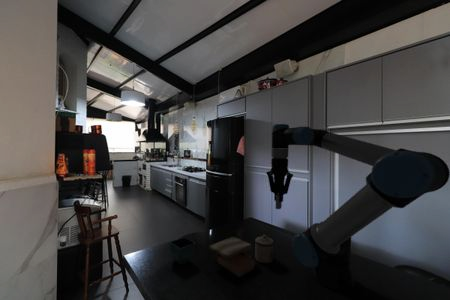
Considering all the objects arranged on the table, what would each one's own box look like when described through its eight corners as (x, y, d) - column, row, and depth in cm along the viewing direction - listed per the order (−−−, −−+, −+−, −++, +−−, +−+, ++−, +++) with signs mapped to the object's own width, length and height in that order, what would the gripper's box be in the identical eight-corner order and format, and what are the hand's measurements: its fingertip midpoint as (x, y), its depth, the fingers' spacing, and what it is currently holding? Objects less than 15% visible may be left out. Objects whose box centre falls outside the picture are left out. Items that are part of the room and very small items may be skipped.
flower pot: (195, 261, 99) (195, 242, 99) (179, 268, 93) (180, 248, 93) (184, 254, 105) (184, 236, 105) (168, 261, 99) (169, 242, 99)
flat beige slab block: (250, 261, 100) (251, 244, 100) (227, 275, 89) (227, 255, 89) (232, 252, 109) (232, 236, 109) (208, 263, 98) (209, 245, 97)
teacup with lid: (273, 265, 98) (274, 240, 98) (254, 262, 99) (254, 238, 99) (273, 252, 109) (273, 230, 109) (255, 250, 111) (256, 228, 111)
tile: (254, 269, 95) (254, 261, 95) (239, 278, 88) (239, 269, 88) (233, 256, 105) (233, 249, 105) (217, 263, 98) (217, 256, 98)
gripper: (296, 158, 96) (295, 210, 96) (272, 157, 105) (270, 204, 105) (288, 158, 90) (287, 213, 90) (263, 157, 99) (262, 206, 100)
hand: (278, 208), depth 98 cm, fingers closed
